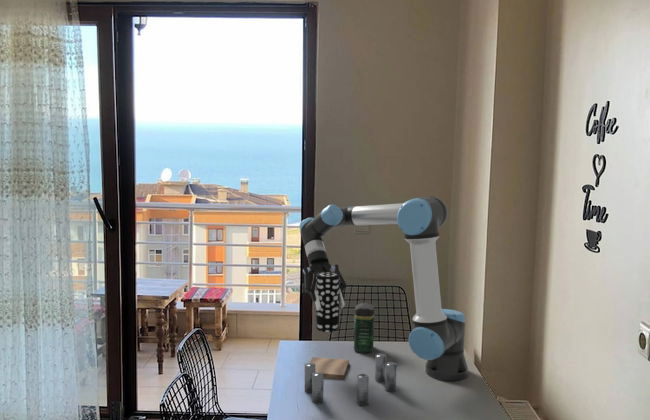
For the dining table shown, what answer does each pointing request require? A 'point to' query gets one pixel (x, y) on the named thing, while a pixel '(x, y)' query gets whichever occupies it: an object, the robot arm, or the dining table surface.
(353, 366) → the dining table surface
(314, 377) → the spacer posts
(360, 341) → the coffee jar
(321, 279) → the spotted tube
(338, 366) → the square wooden board
